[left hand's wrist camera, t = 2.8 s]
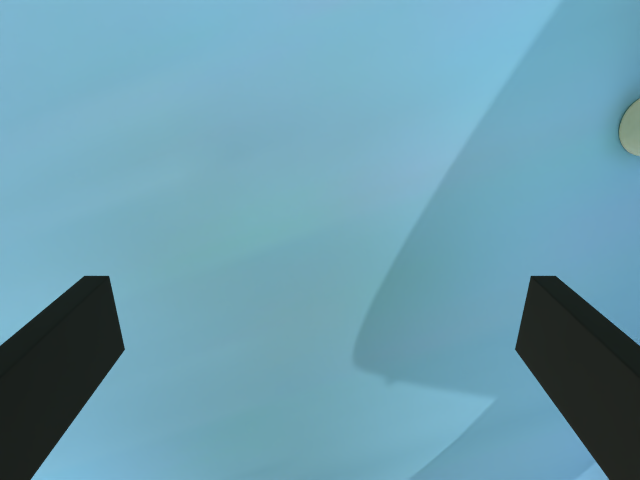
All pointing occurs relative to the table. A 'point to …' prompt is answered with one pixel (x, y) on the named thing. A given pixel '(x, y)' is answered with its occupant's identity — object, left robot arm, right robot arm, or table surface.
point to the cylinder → (631, 129)
